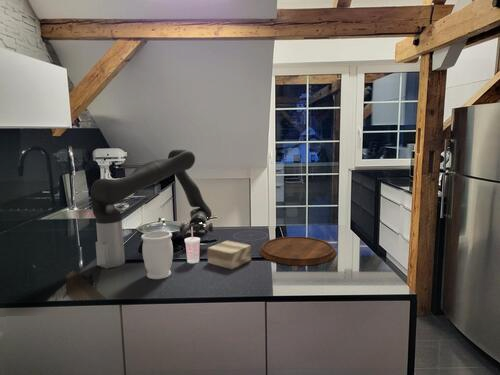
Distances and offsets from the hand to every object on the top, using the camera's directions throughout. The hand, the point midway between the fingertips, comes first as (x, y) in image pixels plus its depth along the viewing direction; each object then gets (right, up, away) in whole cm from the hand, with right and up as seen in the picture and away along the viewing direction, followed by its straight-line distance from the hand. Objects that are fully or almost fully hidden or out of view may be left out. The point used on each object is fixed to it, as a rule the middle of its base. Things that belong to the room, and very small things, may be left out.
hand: (195, 232), depth 157 cm
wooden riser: (+15, -10, -11) cm, 21 cm away
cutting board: (+43, -8, 0) cm, 44 cm away
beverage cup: (+1, -10, -10) cm, 14 cm away
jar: (-9, -13, -23) cm, 28 cm away
